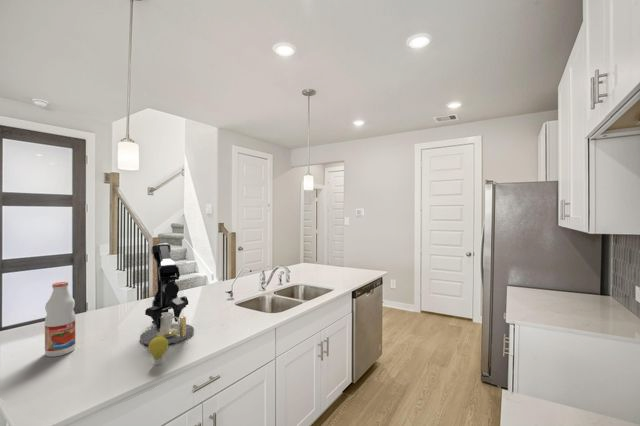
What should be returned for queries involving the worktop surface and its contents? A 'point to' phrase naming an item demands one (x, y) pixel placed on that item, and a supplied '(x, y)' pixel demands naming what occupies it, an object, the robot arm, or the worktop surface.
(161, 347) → the light bulb
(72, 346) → the fruit juice
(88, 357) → the worktop surface
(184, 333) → the turntable
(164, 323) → the cup
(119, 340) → the worktop surface
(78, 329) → the worktop surface
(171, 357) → the worktop surface
